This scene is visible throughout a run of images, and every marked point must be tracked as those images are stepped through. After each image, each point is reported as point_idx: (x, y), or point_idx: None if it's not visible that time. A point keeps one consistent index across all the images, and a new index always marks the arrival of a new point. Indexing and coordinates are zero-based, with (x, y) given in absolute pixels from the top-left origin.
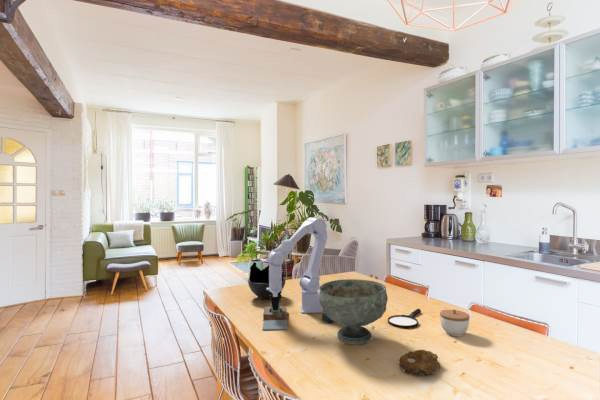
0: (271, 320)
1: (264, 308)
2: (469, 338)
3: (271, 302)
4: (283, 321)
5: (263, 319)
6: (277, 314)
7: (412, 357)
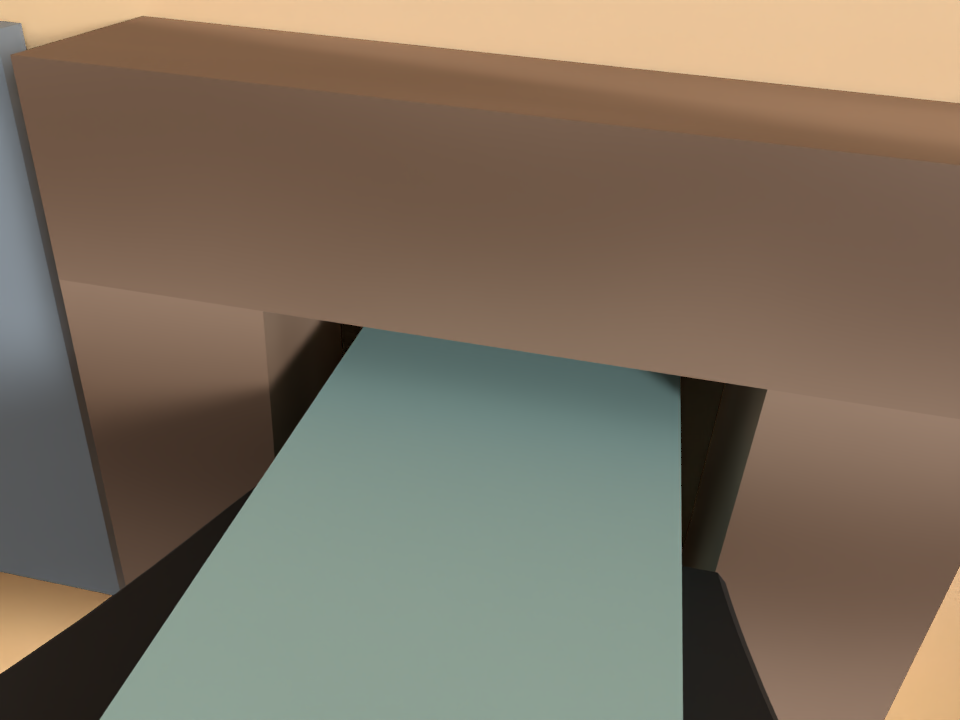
0: (31, 271)
1: (854, 168)
2: None
3: (135, 699)
4: (18, 520)
5: (126, 25)
6: (113, 514)
7: None
